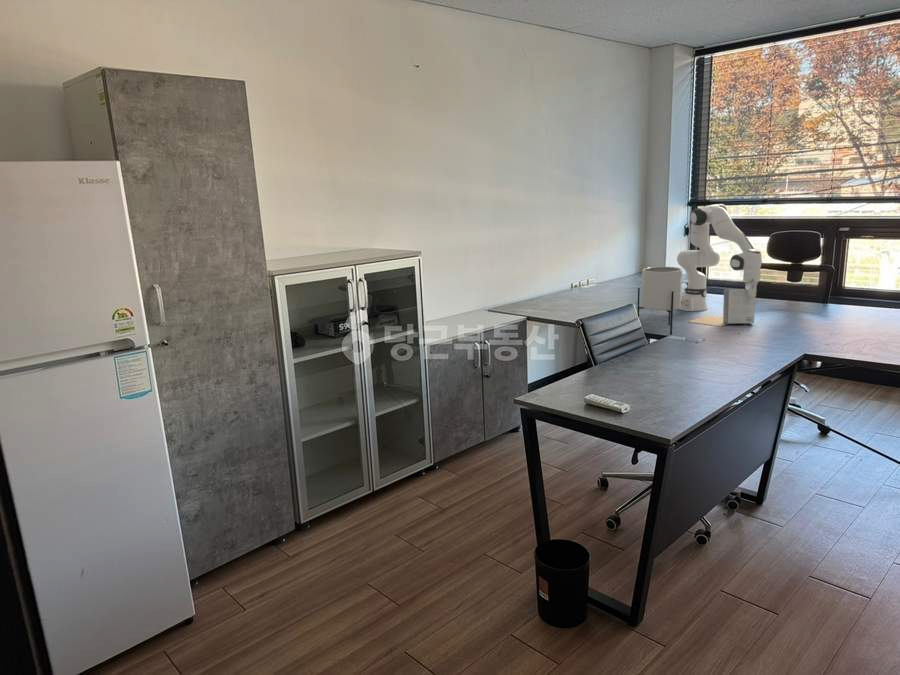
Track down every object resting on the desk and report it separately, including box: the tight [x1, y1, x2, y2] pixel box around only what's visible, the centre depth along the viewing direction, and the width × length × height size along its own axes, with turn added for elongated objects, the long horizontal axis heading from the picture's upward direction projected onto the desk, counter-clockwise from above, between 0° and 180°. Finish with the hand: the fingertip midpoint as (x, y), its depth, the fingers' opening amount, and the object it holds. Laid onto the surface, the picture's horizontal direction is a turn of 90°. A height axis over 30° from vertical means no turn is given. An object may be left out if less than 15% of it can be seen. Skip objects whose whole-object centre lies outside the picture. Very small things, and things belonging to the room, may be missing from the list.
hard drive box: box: [722, 288, 756, 325], centre depth 359 cm, size 16×8×20 cm, turn 84°
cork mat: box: [688, 314, 730, 328], centre depth 371 cm, size 20×22×1 cm
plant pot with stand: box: [637, 266, 683, 335], centre depth 355 cm, size 24×24×36 cm
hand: (750, 301), depth 352 cm, fingers closed
